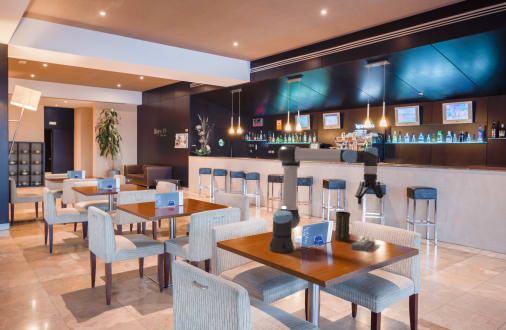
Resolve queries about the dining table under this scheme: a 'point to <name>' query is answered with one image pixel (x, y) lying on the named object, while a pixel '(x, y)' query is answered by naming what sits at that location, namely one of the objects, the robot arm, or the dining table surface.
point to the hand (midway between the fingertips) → (369, 209)
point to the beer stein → (342, 226)
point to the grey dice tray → (363, 248)
